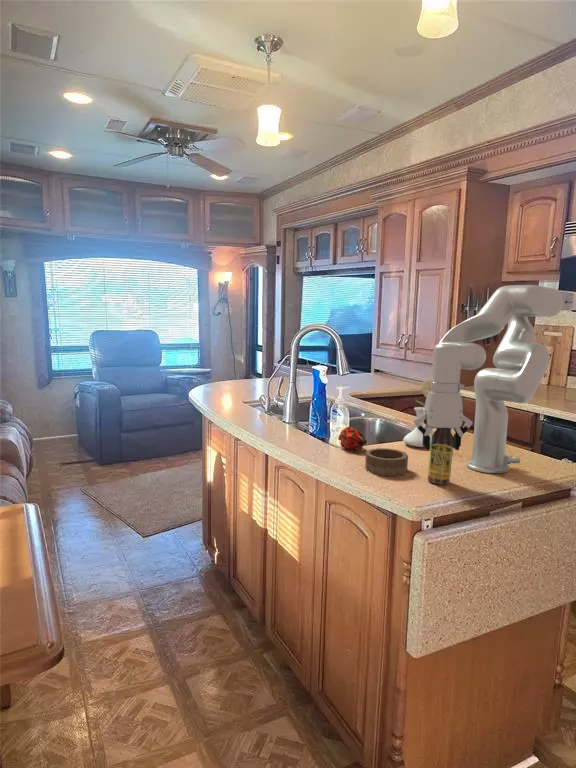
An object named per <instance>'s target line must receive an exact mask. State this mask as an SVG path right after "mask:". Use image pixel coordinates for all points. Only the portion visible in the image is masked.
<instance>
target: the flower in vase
mask: <svg viewBox="0 0 576 768" xmlns="http://www.w3.org/2000/svg"><path fill="white" fill-rule="evenodd" d="M431 384H432V377H430V378H428V379H427V380H424V381H423V383H422V385H421V387H420V388H421V389H420V391H421V392H422V394H423V396H424V397H427V394H428V392H431ZM414 400H415V402H416V403H418V404H420V405H423V406H422V407H421V406H420V407H418V406H417V407H414V408H413V409H414V411H415V413H416V414H415V415H416V418H418V417H419V416H421V415H422V414H424V408H425V403H424V402H423V401H420V400H417V399H416V398H414ZM420 424H421V426H422V427H423V428H424V427H425V426H424V423H423V421H422V422H421V423H420ZM429 436H430V447H431V442H432V435H431V434H429ZM402 440H403V442H404V444H406V445H408V446H412V447H417V448H424V446H423V444H422V443H423V434H422V433H421V431H420V430H419V429H418V428H417V426H416V425H415V428H414V429H413V430H412V431H411V432H409V433H407V434H406V435H405V436H404V438H403V439H402Z"/></svg>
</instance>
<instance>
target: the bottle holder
mask: <svg viewBox="0 0 576 768" xmlns="http://www.w3.org/2000/svg"><path fill="white" fill-rule="evenodd" d="M364 458H365V461H364V462H365V464H364V469H365V470H366V471H367V472H368V471H369V473H370V472H371V474H372V475H376V474H377V475H378V476H382V475H383V477H398V475H399V476H404V475H405V474H406V473H407V472H408V463H409V462H408V461H409V455H408V454H407V453H406V452H404V451H402V450H400V449H394V448H384V447H383V448H381V447H380V448H378V447H377V448H372V449H371V448H369V449H368V450H366V451H365V457H364Z"/></svg>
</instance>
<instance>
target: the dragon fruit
mask: <svg viewBox="0 0 576 768" xmlns="http://www.w3.org/2000/svg"><path fill="white" fill-rule="evenodd" d="M337 439H338V441H340V446H341V448H346V449H347V450H349V451H350V452H357V451H356V448H357V449H362V448H363V447H364V445H366V444H367V441H368V440H367V439H366V437H365V436H364V434H363V433H362V432H361V431H359V429H357V428H356V427H353V426H347V427H345V428H343V429H342V430H341V431H340V434H339V435H338V437H337ZM365 439H366V440H365Z"/></svg>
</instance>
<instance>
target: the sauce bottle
mask: <svg viewBox="0 0 576 768" xmlns="http://www.w3.org/2000/svg"><path fill="white" fill-rule="evenodd" d="M431 436H432V442H431V446H430V449H429V457H428V459H429V460H428V466H427V467H428V468H427V481H428V482H430V483H433V484H435V485H443V486H444V485H448V484H449V483H450V480H451V472H452V463H453V455H454V448H453V443H454V437H453V436H454V434H453V432H452V429H451V428H435V431H434V432H433V434H432V435H431Z"/></svg>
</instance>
